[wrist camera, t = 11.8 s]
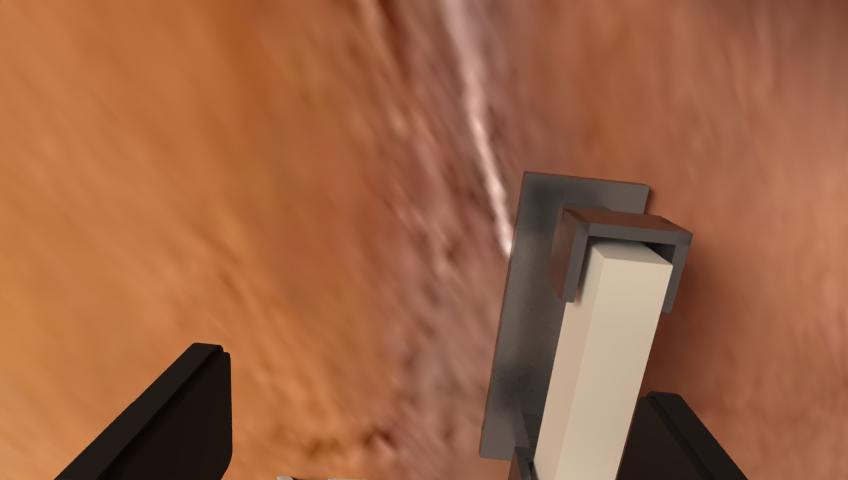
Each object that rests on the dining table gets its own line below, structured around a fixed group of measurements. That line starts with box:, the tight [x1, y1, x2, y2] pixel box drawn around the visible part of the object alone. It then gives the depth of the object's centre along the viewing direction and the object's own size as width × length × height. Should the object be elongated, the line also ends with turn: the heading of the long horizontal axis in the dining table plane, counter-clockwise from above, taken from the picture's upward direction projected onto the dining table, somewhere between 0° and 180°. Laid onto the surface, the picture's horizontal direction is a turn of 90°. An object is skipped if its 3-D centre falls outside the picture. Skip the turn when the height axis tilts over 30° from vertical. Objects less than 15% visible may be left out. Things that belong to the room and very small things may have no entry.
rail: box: [531, 236, 673, 480], centre depth 33 cm, size 22×4×5 cm, turn 174°
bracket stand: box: [479, 171, 693, 480], centre depth 38 cm, size 28×10×12 cm, turn 174°
